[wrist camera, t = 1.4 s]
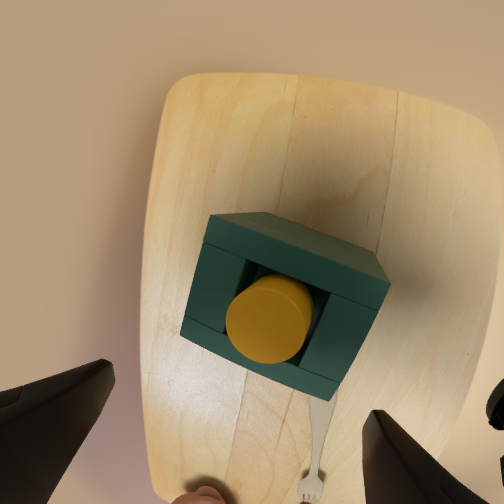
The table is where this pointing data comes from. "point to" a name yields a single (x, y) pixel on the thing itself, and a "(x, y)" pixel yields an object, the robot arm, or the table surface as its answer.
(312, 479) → the fork
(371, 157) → the table surface
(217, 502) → the figurine
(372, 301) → the green push button box
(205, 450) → the table surface
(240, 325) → the cylinder
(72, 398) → the robot arm
